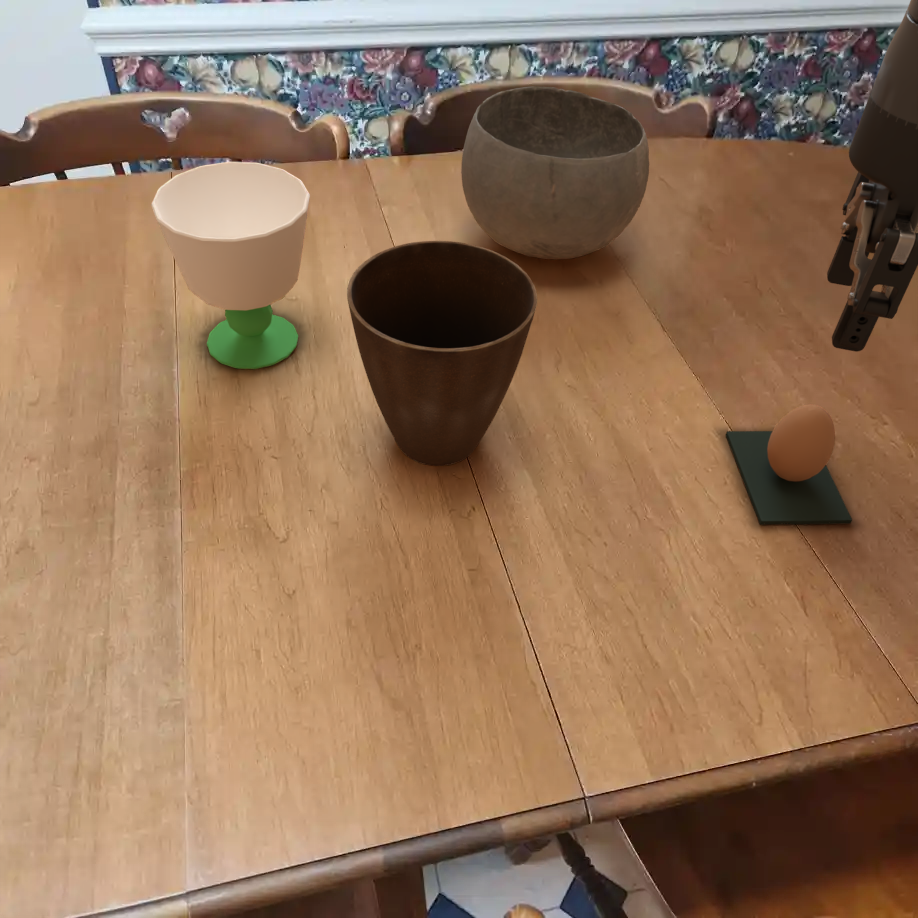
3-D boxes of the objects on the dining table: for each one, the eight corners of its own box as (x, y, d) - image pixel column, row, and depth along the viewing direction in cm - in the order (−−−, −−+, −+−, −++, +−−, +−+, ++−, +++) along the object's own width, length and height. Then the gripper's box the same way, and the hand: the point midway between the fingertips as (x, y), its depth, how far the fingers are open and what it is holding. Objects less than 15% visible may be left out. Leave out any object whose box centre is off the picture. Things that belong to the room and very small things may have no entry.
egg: (798, 505, 76) (830, 439, 71) (746, 473, 79) (773, 407, 73) (827, 475, 79) (860, 410, 73) (776, 445, 81) (804, 380, 76)
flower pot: (347, 390, 85) (338, 244, 73) (499, 377, 87) (513, 234, 76) (364, 506, 75) (357, 358, 63) (535, 487, 77) (558, 341, 66)
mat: (850, 523, 76) (852, 520, 75) (759, 525, 75) (761, 521, 75) (808, 434, 83) (809, 430, 83) (725, 434, 83) (726, 431, 82)
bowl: (640, 296, 98) (669, 170, 87) (455, 286, 97) (462, 158, 87) (620, 202, 112) (644, 83, 102) (459, 193, 112) (465, 73, 101)
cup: (328, 377, 86) (317, 234, 75) (182, 392, 83) (148, 246, 72) (315, 295, 95) (303, 157, 84) (183, 306, 93) (153, 165, 81)
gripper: (1021, 160, 49) (903, 382, 61) (981, 64, 59) (886, 270, 71) (882, 139, 50) (792, 361, 62) (865, 48, 60) (790, 254, 72)
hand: (842, 312), depth 66 cm, fingers open, 8 cm apart
